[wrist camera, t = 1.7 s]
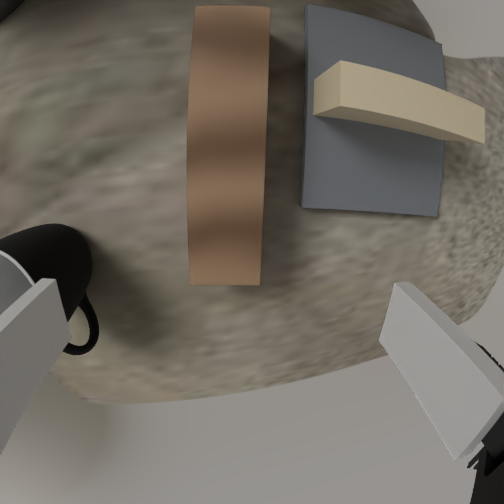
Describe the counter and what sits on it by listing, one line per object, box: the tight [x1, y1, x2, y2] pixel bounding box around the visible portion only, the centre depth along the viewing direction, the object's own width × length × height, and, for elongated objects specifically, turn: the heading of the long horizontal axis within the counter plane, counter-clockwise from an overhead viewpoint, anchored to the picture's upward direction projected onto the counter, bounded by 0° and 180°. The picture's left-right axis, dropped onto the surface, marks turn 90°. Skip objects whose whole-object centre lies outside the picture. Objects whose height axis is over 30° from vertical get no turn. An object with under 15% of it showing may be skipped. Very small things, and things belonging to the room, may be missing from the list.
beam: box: [187, 5, 270, 285], centre depth 20 cm, size 20×5×5 cm, turn 178°
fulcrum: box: [299, 4, 485, 217], centre depth 18 cm, size 18×14×7 cm
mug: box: [0, 224, 99, 355], centre depth 20 cm, size 12×9×10 cm
